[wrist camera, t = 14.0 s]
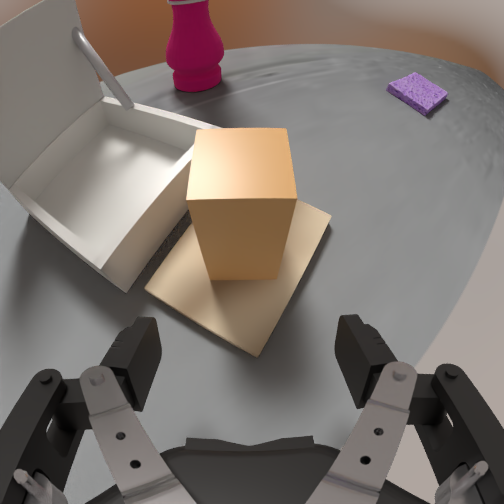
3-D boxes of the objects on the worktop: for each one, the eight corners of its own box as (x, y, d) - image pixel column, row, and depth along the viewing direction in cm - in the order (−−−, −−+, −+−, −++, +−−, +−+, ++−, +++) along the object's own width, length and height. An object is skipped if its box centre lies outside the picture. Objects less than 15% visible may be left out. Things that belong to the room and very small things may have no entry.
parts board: (148, 292, 20) (144, 288, 19) (233, 178, 25) (232, 170, 24) (257, 358, 18) (258, 356, 17) (328, 222, 23) (331, 215, 22)
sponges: (384, 92, 34) (388, 83, 33) (413, 78, 38) (416, 70, 37) (423, 119, 32) (428, 109, 30) (445, 100, 36) (449, 92, 34)
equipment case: (26, 211, 23) (-65, 82, 7) (109, 124, 29) (65, -11, 12) (126, 293, 20) (-46, 79, 3) (224, 165, 25) (213, -43, 9)
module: (210, 280, 20) (185, 199, 11) (212, 223, 22) (196, 129, 13) (276, 279, 20) (297, 198, 12) (272, 222, 22) (286, 128, 14)
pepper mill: (230, 70, 34) (228, -60, 16) (217, 95, 31) (209, -60, 13) (181, 69, 35) (168, -53, 17) (162, 94, 31) (138, -48, 13)
